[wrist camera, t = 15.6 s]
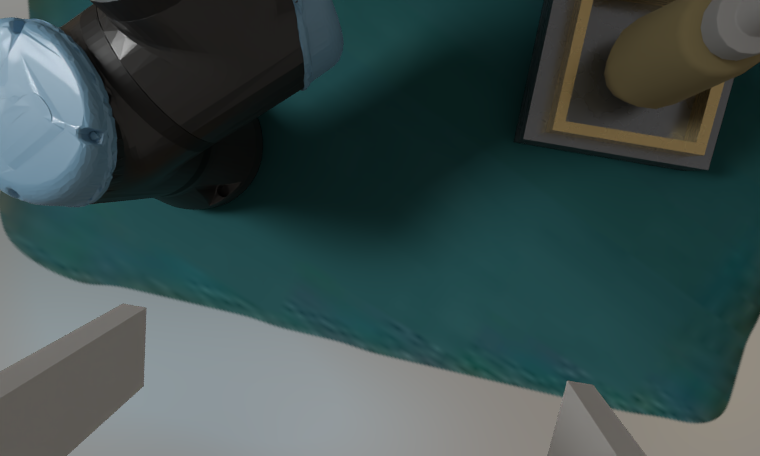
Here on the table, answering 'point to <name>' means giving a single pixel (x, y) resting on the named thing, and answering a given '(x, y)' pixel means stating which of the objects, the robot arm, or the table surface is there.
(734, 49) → the squeeze bottle
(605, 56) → the square gold-rimmed tray
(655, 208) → the table surface
